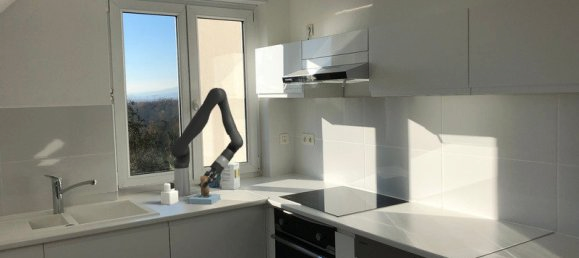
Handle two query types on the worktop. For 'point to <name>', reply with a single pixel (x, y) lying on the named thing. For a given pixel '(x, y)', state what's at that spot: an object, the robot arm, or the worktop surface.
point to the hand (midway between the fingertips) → (201, 186)
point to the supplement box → (231, 177)
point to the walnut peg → (203, 191)
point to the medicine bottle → (169, 194)
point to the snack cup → (216, 181)
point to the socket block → (204, 199)
